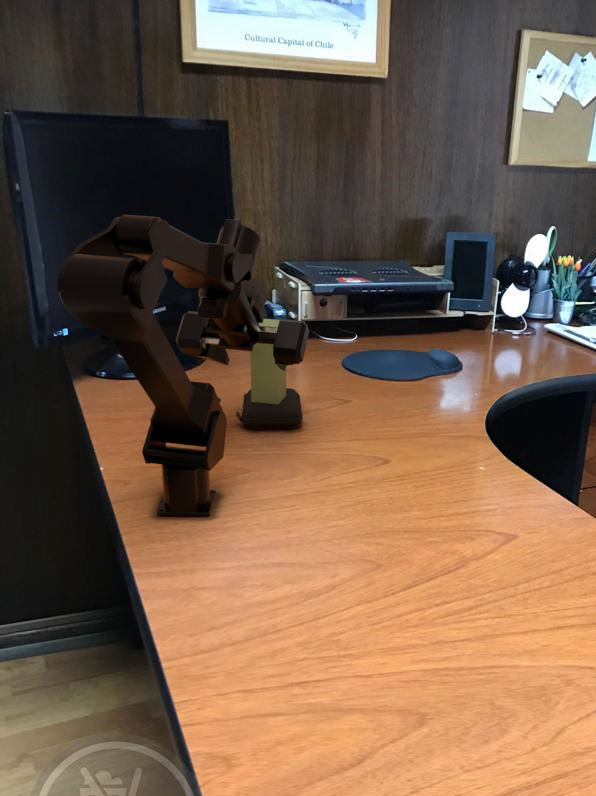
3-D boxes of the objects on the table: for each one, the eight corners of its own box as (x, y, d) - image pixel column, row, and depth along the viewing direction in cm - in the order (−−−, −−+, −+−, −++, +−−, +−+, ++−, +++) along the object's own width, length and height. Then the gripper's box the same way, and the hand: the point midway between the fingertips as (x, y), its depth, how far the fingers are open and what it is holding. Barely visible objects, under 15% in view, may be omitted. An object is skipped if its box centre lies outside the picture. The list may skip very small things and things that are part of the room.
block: (278, 404, 126) (277, 326, 121) (251, 402, 127) (249, 324, 122) (286, 396, 130) (286, 320, 126) (260, 393, 131) (258, 318, 126)
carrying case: (238, 401, 136) (235, 432, 122) (238, 385, 135) (234, 414, 121) (299, 401, 137) (303, 432, 124) (299, 385, 136) (303, 414, 123)
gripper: (306, 266, 108) (324, 326, 122) (180, 256, 110) (211, 316, 125) (290, 334, 103) (310, 388, 118) (159, 322, 106) (194, 377, 120)
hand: (256, 365), depth 120 cm, fingers open, 9 cm apart
